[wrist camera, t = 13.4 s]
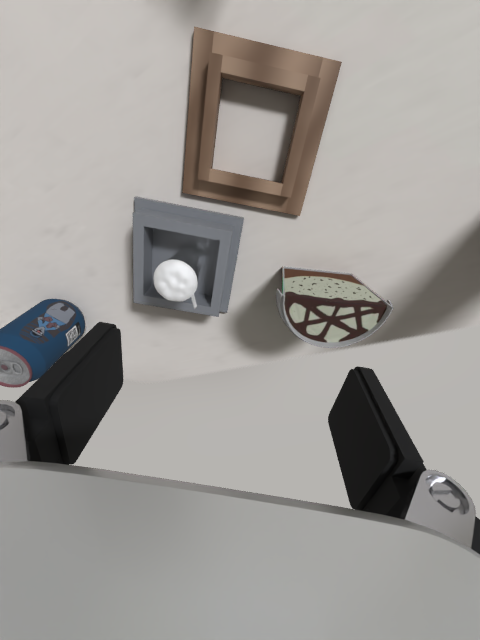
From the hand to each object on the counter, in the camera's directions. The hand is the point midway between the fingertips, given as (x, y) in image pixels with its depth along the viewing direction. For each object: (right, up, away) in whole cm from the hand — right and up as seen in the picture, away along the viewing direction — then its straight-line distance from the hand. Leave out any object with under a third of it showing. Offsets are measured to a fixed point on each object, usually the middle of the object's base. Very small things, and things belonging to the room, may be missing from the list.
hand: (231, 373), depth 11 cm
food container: (+10, +6, +27) cm, 30 cm away
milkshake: (-6, +10, +25) cm, 27 cm away
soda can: (-26, +3, +30) cm, 40 cm away
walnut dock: (+2, +22, +18) cm, 29 cm away
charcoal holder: (-7, +10, +25) cm, 28 cm away
